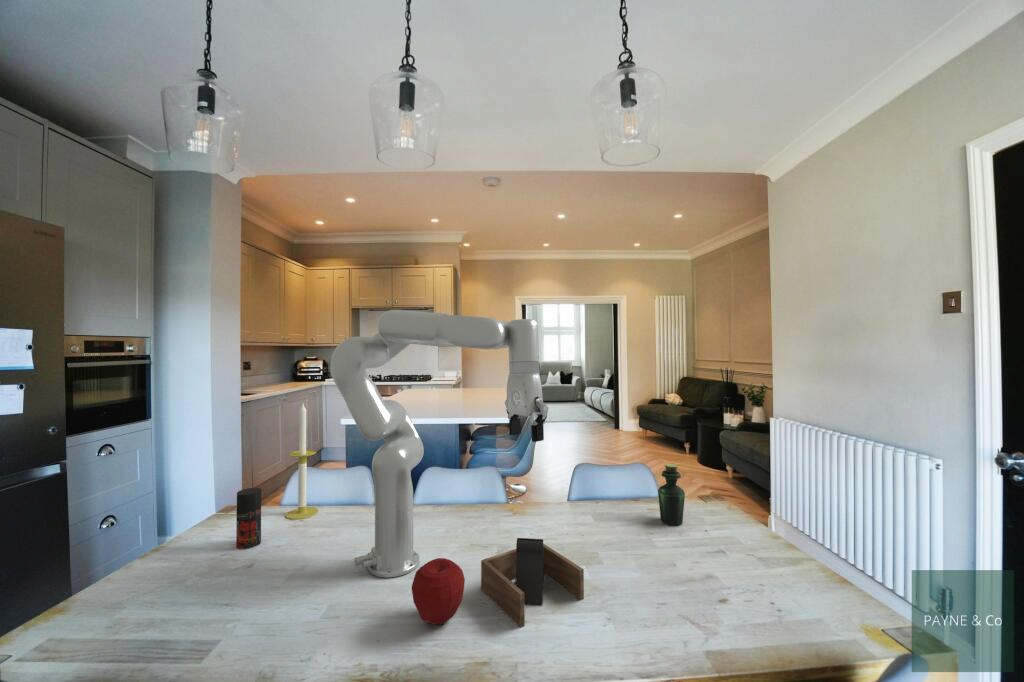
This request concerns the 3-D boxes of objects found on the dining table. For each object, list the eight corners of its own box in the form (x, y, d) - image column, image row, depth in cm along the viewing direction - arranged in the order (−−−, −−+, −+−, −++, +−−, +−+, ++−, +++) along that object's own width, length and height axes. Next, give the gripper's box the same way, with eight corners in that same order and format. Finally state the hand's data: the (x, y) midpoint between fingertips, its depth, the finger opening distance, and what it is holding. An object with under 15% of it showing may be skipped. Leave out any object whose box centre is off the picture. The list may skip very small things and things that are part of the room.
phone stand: (542, 606, 89) (542, 549, 89) (514, 604, 90) (514, 548, 90) (544, 582, 98) (543, 531, 98) (518, 580, 98) (518, 530, 99)
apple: (416, 603, 90) (416, 549, 90) (466, 601, 90) (466, 547, 91) (406, 638, 79) (406, 577, 79) (463, 636, 79) (463, 575, 80)
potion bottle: (659, 526, 129) (659, 468, 129) (656, 515, 136) (656, 461, 137) (687, 528, 127) (687, 469, 127) (682, 517, 135) (682, 462, 135)
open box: (520, 627, 82) (520, 594, 82) (481, 588, 95) (481, 560, 95) (583, 598, 91) (583, 569, 91) (539, 567, 105) (539, 541, 105)
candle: (290, 509, 143) (290, 400, 143) (321, 506, 145) (322, 399, 146) (281, 520, 133) (282, 404, 134) (315, 517, 135) (315, 403, 136)
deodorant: (231, 547, 116) (231, 493, 116) (251, 538, 121) (252, 486, 121) (245, 550, 113) (246, 496, 114) (265, 541, 119) (266, 489, 119)
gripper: (493, 368, 108) (495, 434, 108) (532, 370, 94) (534, 446, 93) (517, 367, 112) (519, 430, 112) (557, 369, 98) (560, 441, 97)
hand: (526, 437), depth 103 cm, fingers open, 9 cm apart
